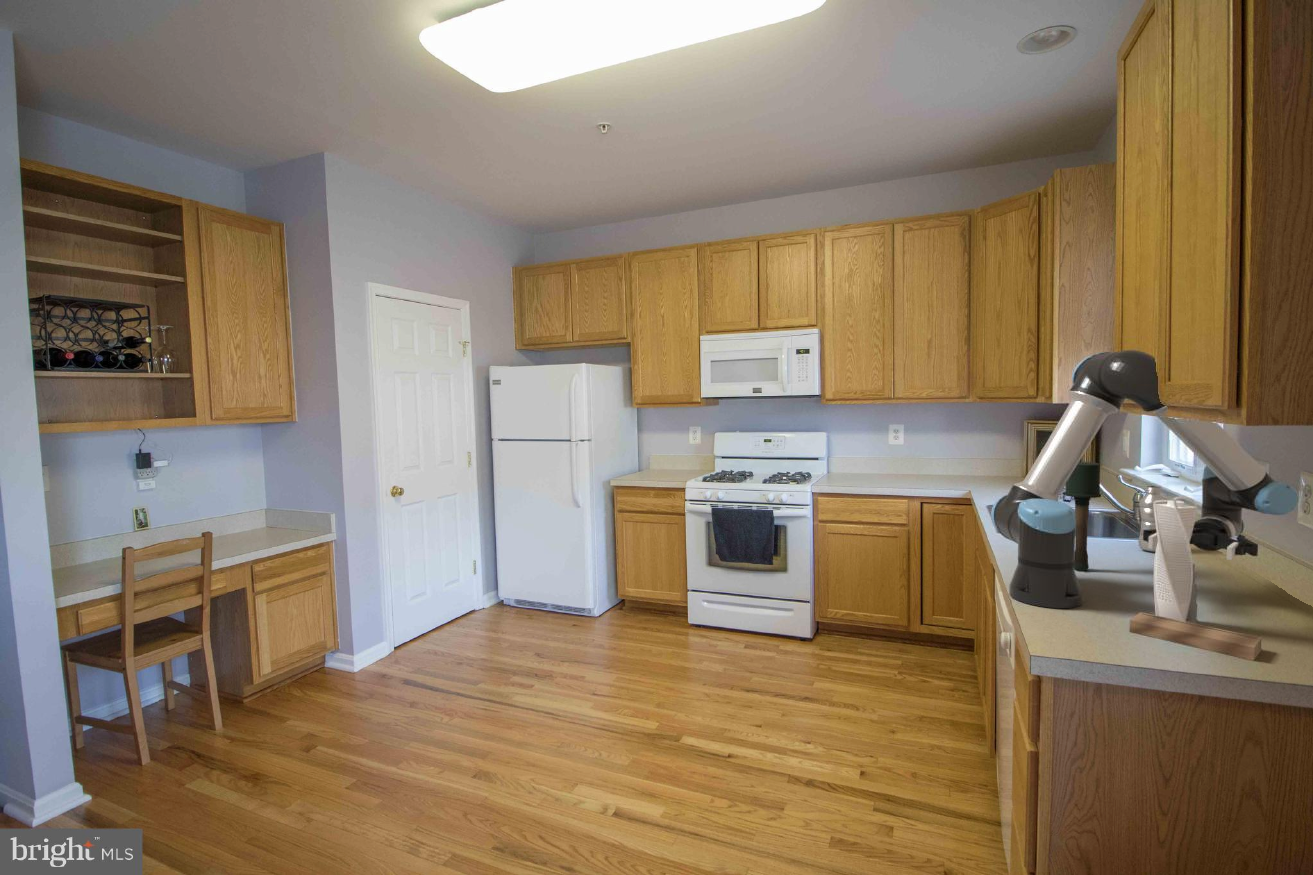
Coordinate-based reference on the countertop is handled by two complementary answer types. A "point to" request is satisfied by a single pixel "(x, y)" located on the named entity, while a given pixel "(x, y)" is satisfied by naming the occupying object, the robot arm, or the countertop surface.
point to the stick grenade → (1083, 505)
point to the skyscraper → (1175, 561)
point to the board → (1197, 635)
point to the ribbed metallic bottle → (1148, 513)
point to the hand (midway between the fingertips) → (1188, 548)
